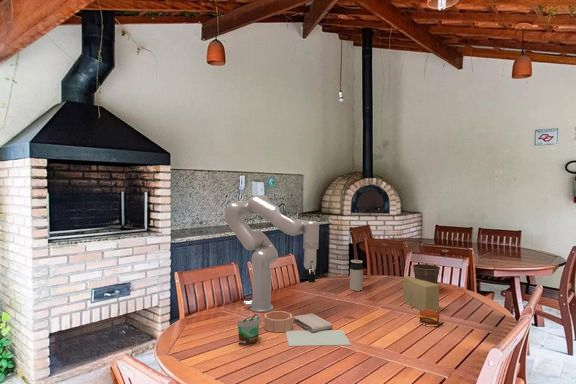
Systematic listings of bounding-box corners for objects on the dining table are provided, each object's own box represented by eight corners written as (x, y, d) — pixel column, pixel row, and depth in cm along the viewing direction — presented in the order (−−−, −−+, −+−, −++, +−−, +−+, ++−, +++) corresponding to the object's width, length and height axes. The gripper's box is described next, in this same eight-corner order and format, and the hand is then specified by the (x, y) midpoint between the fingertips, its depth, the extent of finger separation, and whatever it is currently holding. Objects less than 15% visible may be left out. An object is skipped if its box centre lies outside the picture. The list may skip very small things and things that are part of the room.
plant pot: (409, 288, 257) (410, 263, 256) (436, 289, 255) (436, 264, 254) (414, 295, 241) (415, 268, 240) (442, 296, 238) (443, 269, 238)
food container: (248, 349, 160) (249, 324, 160) (236, 345, 164) (237, 321, 163) (266, 338, 171) (266, 315, 171) (254, 335, 174) (255, 312, 174)
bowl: (264, 333, 177) (264, 320, 177) (263, 322, 190) (263, 311, 190) (293, 332, 178) (293, 320, 178) (290, 322, 191) (291, 310, 191)
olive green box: (396, 302, 226) (397, 275, 226) (410, 300, 230) (410, 274, 230) (425, 314, 206) (426, 285, 206) (439, 312, 210) (440, 283, 210)
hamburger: (437, 328, 186) (437, 314, 186) (416, 324, 192) (416, 310, 191) (441, 322, 194) (442, 309, 194) (421, 319, 200) (421, 305, 199)
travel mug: (362, 291, 246) (363, 262, 246) (349, 290, 248) (350, 261, 247) (362, 288, 254) (363, 260, 253) (349, 287, 255) (350, 259, 255)
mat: (288, 346, 164) (288, 345, 164) (285, 331, 180) (285, 330, 180) (351, 345, 166) (351, 344, 166) (342, 330, 182) (342, 330, 182)
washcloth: (311, 317, 198) (311, 311, 198) (333, 329, 183) (333, 322, 183) (291, 321, 192) (291, 314, 192) (312, 333, 177) (312, 326, 177)
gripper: (301, 242, 207) (300, 275, 208) (306, 248, 190) (305, 284, 191) (315, 242, 208) (314, 275, 209) (321, 248, 191) (320, 284, 191)
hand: (310, 279), depth 200 cm, fingers open, 9 cm apart
